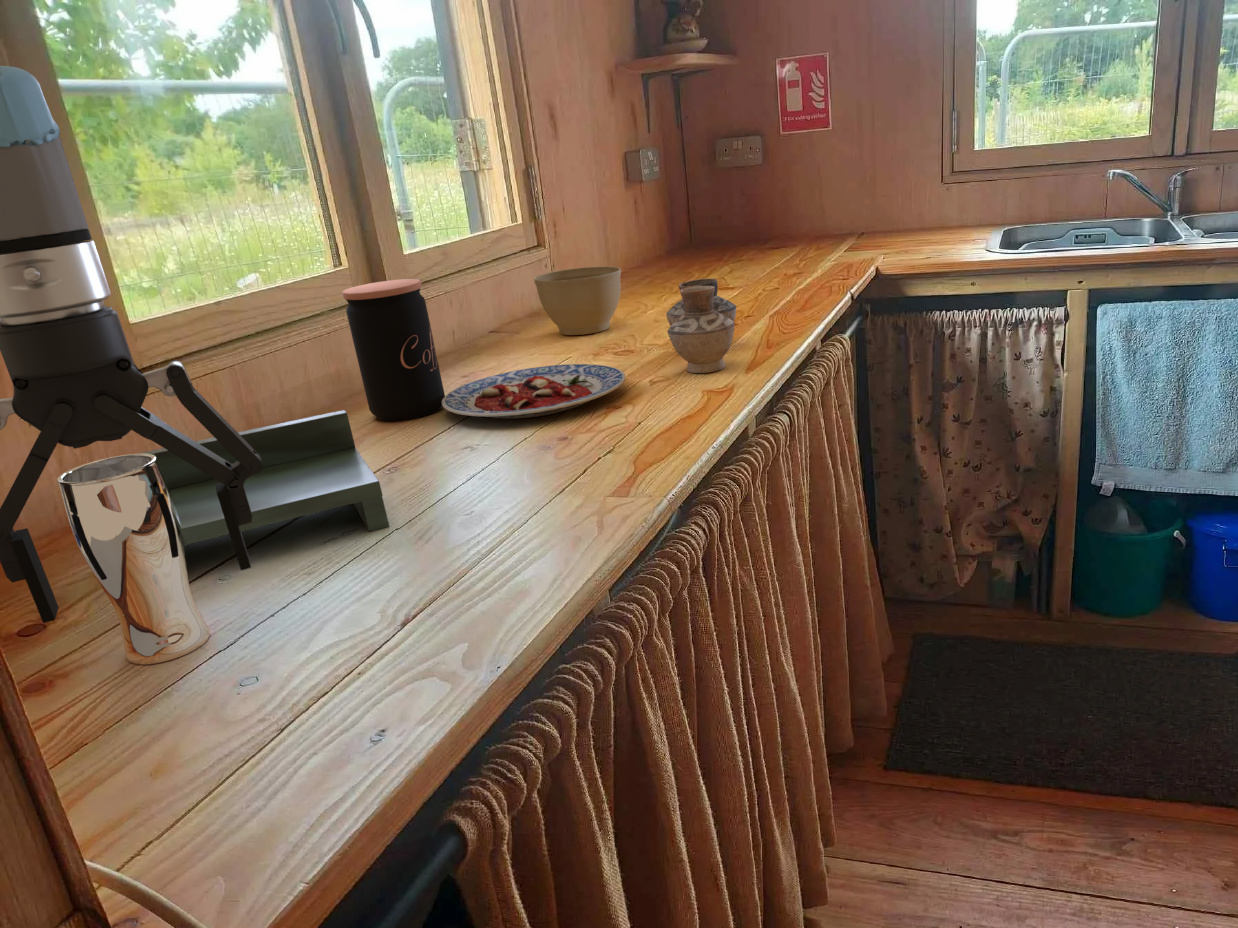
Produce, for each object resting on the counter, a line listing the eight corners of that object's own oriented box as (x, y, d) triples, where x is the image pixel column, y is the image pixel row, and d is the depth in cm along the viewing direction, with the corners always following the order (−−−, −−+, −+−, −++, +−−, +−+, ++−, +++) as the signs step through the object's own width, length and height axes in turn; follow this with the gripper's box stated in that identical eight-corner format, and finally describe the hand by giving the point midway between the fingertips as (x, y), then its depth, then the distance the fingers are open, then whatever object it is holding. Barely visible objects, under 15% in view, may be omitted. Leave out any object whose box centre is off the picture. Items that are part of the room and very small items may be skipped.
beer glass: (168, 622, 81) (109, 452, 76) (235, 626, 79) (179, 451, 73) (100, 665, 75) (30, 484, 69) (170, 671, 73) (105, 484, 67)
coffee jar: (421, 422, 134) (392, 290, 127) (356, 423, 137) (325, 295, 130) (460, 400, 143) (435, 276, 136) (399, 401, 146) (371, 281, 140)
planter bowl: (592, 341, 174) (583, 280, 170) (525, 339, 182) (515, 281, 178) (644, 322, 186) (637, 264, 182) (579, 321, 194) (571, 266, 190)
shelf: (150, 537, 101) (122, 456, 98) (363, 486, 110) (344, 409, 107) (146, 591, 88) (114, 499, 85) (390, 528, 96) (369, 441, 93)
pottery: (668, 381, 140) (658, 298, 136) (671, 345, 163) (662, 273, 159) (746, 372, 140) (739, 289, 135) (738, 338, 163) (731, 265, 158)
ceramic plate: (465, 443, 122) (460, 420, 120) (430, 402, 144) (426, 382, 143) (654, 401, 130) (651, 380, 129) (593, 369, 153) (591, 350, 151)
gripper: (-186, 356, 59) (-49, 659, 67) (248, 286, 69) (324, 558, 76) (-151, 341, 65) (-29, 619, 73) (242, 278, 75) (312, 530, 83)
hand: (151, 588), depth 75 cm, fingers open, 13 cm apart
